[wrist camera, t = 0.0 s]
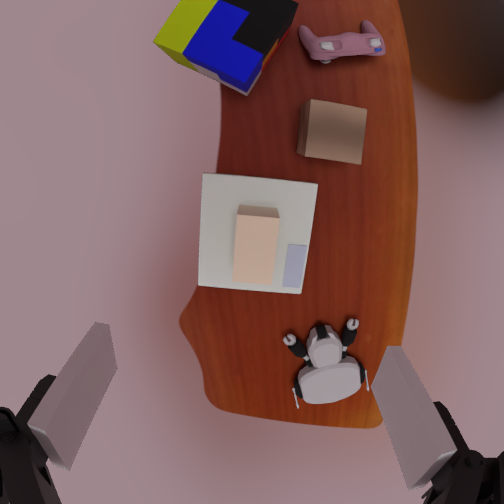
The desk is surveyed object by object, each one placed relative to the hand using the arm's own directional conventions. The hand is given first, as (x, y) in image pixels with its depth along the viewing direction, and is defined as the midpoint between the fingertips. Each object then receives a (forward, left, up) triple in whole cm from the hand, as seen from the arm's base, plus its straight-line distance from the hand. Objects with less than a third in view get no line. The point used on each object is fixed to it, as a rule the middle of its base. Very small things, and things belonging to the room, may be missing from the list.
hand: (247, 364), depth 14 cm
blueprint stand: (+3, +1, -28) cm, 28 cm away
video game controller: (-23, +9, -28) cm, 38 cm away
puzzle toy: (-21, -4, -28) cm, 36 cm away
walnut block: (-11, +8, -28) cm, 31 cm away
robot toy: (+22, +14, -28) cm, 38 cm away
